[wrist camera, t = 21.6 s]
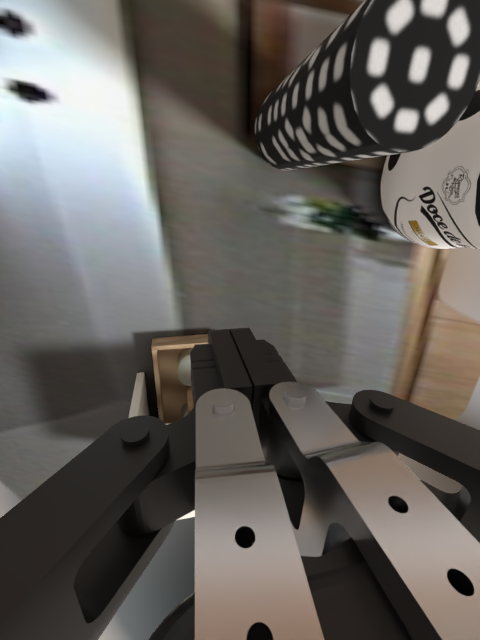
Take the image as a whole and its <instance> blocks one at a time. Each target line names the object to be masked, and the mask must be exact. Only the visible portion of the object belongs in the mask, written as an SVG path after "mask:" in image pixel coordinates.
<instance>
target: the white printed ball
mask: <svg viewBox="0 0 480 640" xmlns="http://www.w3.org/2000/svg"><path fill="white" fill-rule="evenodd" d="M380 194H381V204H382V208H383V211H384V213H385V216H386V218H387V220H388V222H389V224H390V225H391V226H392V228H393V229H394V230H395V231H396V232H397V233H398V234H400V235H401V236H403V237H404V238H406V239H407V240H409V241H411V242H414V243H416V244H419V245H422V246H425V247H430V248H438V249H451V248H460V247H470V248H475V249H479V250H480V84H478V86H477V89H476V91H475V94H474V96H473V98H472V99H471V101H470V103H469V105H468V107H467V109H466V110H465V112H464V113H463V115H462V116H461V117H460V119H459V120H458V122H457V123H456V124H455V125H454V126H453V127H452V128H451V129H450V130H449V131H448V133H447V134H445V135H444V136H443V137H441V138H440V139H439V140H438V141H436V142H435V143H433V144H431V145H429V146H427V147H425V148H423V149H420V150H416V151H412V152H407V153H400V154H394V155H387V157H386V160H385V163H384V167H383V172H382V176H381V182H380Z"/></svg>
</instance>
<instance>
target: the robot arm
mask: <svg viewBox="0 0 480 640" xmlns="http://www.w3.org/2000/svg"><path fill="white" fill-rule="evenodd" d="M190 362H191V388H192V397H193V406H194V407H193V409H192V410H191V412H190V413H189V414H187V415H186V416H185V417H183V418H182V419H180V420H178V421H175V422H173V423H170V424H168V425H166V424H165V423H164V422H163V421H162V420H160V419H158V418H156V417H153V416H135V417H131V418H127V419H125V420H123V421H121V422H119V423H117V424H116V425H114V426H113V427H112V428H110V429H109V430H108V431H107V432H105V433H104V434H103V435H102V436H101V437H99V438H98V439H97V440H96V441H94V442H93V443H92V444H91V445H89V446H88V447H87V448H86V449H85V450H83V451H82V452H81V453H80V454H78V455H77V456H76V457H75V458H74V459H72V460H71V461H70V462H69V463H67V464H66V465H65V466H64V467H63V468H61V469H60V470H59V471H58V472H56V473H55V474H54V475H53V476H51V477H50V478H49V479H48V480H47V481H45V482H44V483H43V484H42V485H40V486H39V487H38V488H37V489H36V490H34V491H33V492H32V493H31V494H29V495H28V496H27V497H26V498H25V499H23V500H22V501H21V502H20V503H18V504H17V505H16V506H15V507H13V508H12V509H11V510H10V511H9V512H8V513H6V514H5V515H4V516H2V517H1V518H0V640H98V639H99V637H100V635H101V634H102V633H103V631H104V630H105V628H106V627H107V625H108V624H109V622H110V621H111V619H112V618H113V616H114V615H115V613H116V611H117V610H118V609H119V607H120V606H121V604H122V603H123V601H124V600H125V598H126V597H127V595H128V594H129V592H130V591H131V589H132V588H133V586H134V585H135V583H136V582H137V580H138V579H139V577H140V576H141V575H142V573H143V571H144V570H145V569H146V567H147V566H148V564H149V562H150V561H151V559H152V558H153V557H154V555H155V554H156V552H157V551H158V549H159V548H160V546H161V545H162V543H163V542H164V540H165V539H166V537H167V536H168V534H169V533H170V531H171V529H172V527H173V524H174V521H175V520H177V519H179V518H181V517H183V516H184V515H186V514H188V513H190V512H192V511H194V510H195V592H194V593H192V594H191V595H190V596H189V597H188V598H186V599H185V600H184V601H182V602H181V603H180V604H179V605H178V606H177V607H176V608H175V609H174V610H173V611H172V612H171V613H170V614H169V615H168V616H167V617H166V618H165V619H164V620H163V622H162V623H161V624H160V625H159V627H158V628H157V629H156V630H155V632H154V633H153V634H152V635H151V637H150V639H149V640H480V430H477V429H475V428H472V427H469V426H467V425H465V424H462V423H459V422H457V421H455V420H452V419H450V418H447V417H445V416H442V415H440V414H437V413H435V412H432V411H430V410H427V409H425V408H422V407H420V406H417V405H415V404H412V403H410V402H407V401H405V400H402V399H400V398H397V397H395V396H392V395H390V394H387V393H384V392H381V391H376V390H363V391H360V392H358V393H356V394H355V395H354V397H353V401H352V405H351V404H342V403H333V402H326V401H325V400H324V399H323V398H322V397H321V396H320V395H319V393H318V392H317V391H316V390H314V389H313V388H312V387H310V386H308V385H306V384H303V383H299V382H297V381H296V379H295V378H294V376H293V375H292V373H291V372H290V370H289V369H288V367H287V366H286V364H285V363H284V362H283V360H282V358H281V357H280V355H279V354H278V352H277V350H276V349H275V347H274V346H273V345H271V344H270V343H268V342H267V341H265V340H256V339H255V337H254V335H253V334H252V332H251V330H250V328H238V329H223V330H209V331H208V344H197V345H195V346H194V347H193V349H192V350H191V352H190ZM399 453H401V454H403V455H405V456H407V457H409V458H411V459H413V460H415V461H417V462H419V463H421V464H423V465H425V466H428V467H429V468H431V469H433V470H435V471H437V472H439V473H441V474H443V475H445V476H448V477H449V478H451V479H453V480H456V481H457V482H459V483H460V484H462V485H463V487H462V489H461V490H460V491H459V492H458V493H454V494H450V493H445V492H443V491H441V490H439V489H437V488H435V487H433V486H431V485H429V484H427V483H425V482H424V481H422V480H419V478H417V476H416V475H415V474H414V473H413V472H412V471H411V470H410V469H409V468H408V467H407V466H406V465H405V464H404V463H403V461H402V460H401V459H399V457H398V454H399Z"/></svg>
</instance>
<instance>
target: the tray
mask: <svg viewBox="0 0 480 640" xmlns="http://www.w3.org/2000/svg"><path fill="white" fill-rule="evenodd" d="M197 344H208V334H204V335H189V336H175V337H160V338H152V346H151V348H152V357H153V366H154V376H155V385H156V394H157V403H158V413H159V419H160V420H162V421H163V422H164V423H165V424H167V423H173V422H175V421H178V420H180V419H182V418H183V417H185V416H186V415H187V414H189V413H190V412H191V410H192V409H193V407H194V406H193V397H192V388H191V362H190V352H191V350H192V349H193V347H194V346H195V345H197Z"/></svg>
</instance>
